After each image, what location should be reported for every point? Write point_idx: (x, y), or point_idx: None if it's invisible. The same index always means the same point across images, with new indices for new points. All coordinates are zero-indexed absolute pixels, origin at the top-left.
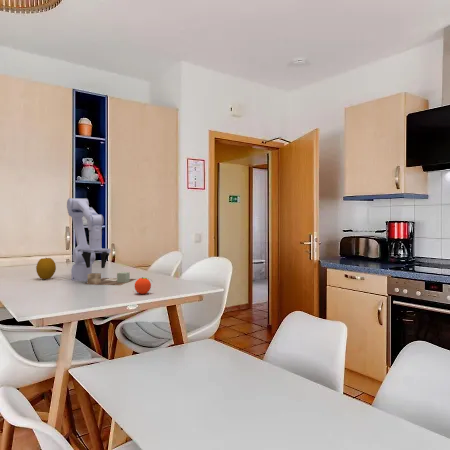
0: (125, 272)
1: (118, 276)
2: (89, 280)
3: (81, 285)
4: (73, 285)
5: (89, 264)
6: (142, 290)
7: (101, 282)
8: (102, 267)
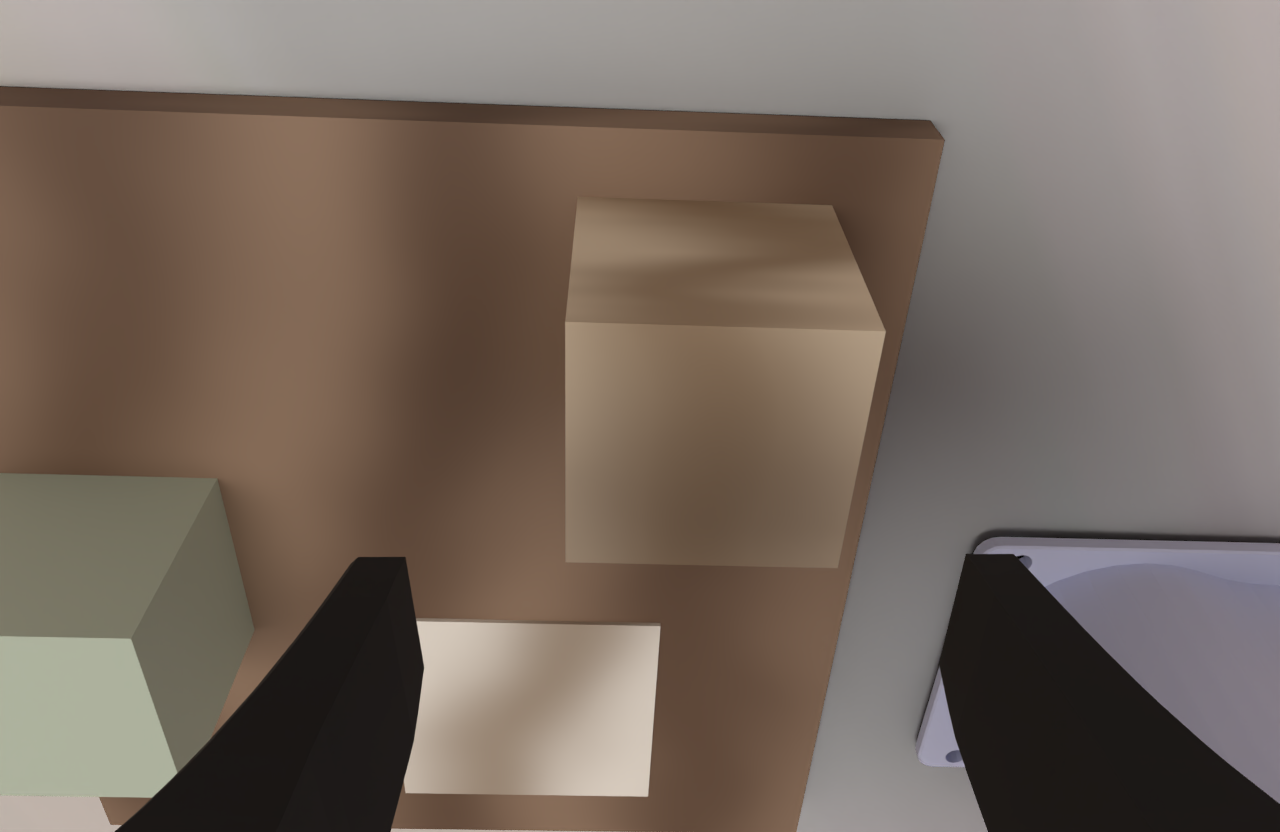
0: (14, 753)
1: (123, 573)
2: (788, 240)
3: (1007, 227)
4: (1216, 198)
5: (974, 733)
6: None
7: None
8: (354, 567)
